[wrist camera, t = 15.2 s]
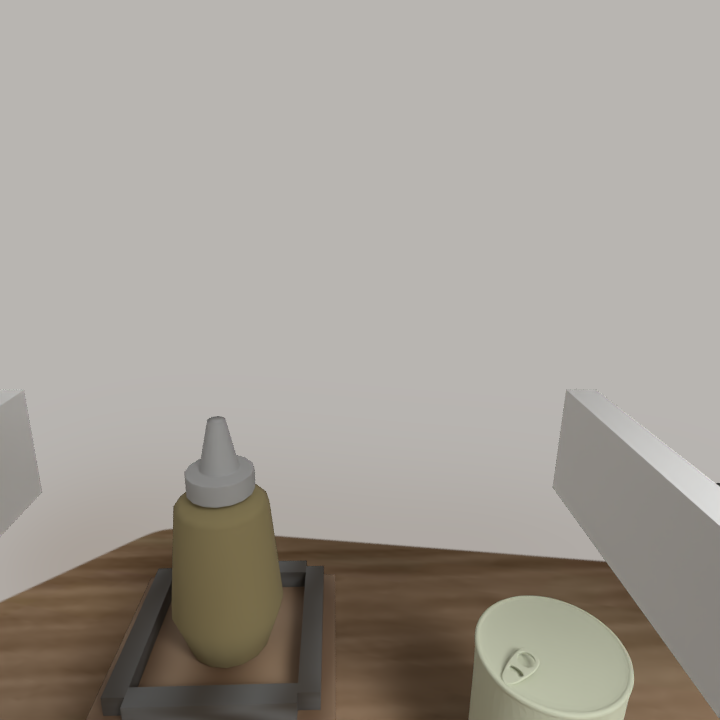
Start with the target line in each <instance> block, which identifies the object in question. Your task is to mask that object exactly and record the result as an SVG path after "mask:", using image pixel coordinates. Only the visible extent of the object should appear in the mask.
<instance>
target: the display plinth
mask: <svg viewBox="0 0 720 720" xmlns="http://www.w3.org/2000/svg"><path fill="white" fill-rule="evenodd" d="M279 568H280V575H281V581H282V588H283V598H282V602H281V605H280V609H279V612H278V615H277V618H276V620H275V623H274V626H273V629H272V631H271V634H270V637H269V640H268V642H267V645H266V646H265V647H264V648H263V650H262V651H261V652H260V653H259V654H258V656H256V657H254V658H253V659H251V660H249V661H248V662H246V663H244V664H242V665H238V666H234V667H230V668H218V667H210V666H208V665H206V664H204V663H202V662H200V661H198V660H197V658H196V657H195V655H194V654H193V653H192V651H191V650H190V648H189V646H188V645H187V643H186V641H185V640H184V638H183V636H182V635H181V633H180V631H179V630H178V628H177V626H176V625H175V623H174V621H173V620H172V568H165V569H158V572H157V574H156V576H155V577H154V578H151V579H150V582H149V584H148V586H147V588H146V590H145V592H144V595H143V597H142V599H141V601H140V603H139V606H138V608H137V610H136V612H135V614H134V616H133V619H132V621H131V623H130V625H129V627H128V629H127V632H126V634H125V636H124V638H123V640H122V642H121V645H120V647H119V649H118V651H117V653H116V655H115V658H114V660H113V662H112V664H111V666H110V669H109V671H108V673H107V675H106V677H105V679H104V682H103V684H102V686H101V688H100V690H99V692H98V695H97V697H96V699H95V701H94V703H93V705H92V708H91V710H90V712H89V714H88V716H87V718H86V720H336V643H335V574H334V575H324V566H307V561H279Z"/></svg>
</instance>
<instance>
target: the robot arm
mask: <svg viewBox="0 0 720 720" xmlns="http://www.w3.org/2000/svg"><path fill="white" fill-rule="evenodd" d="M553 489H554V490H555V491H556V493H557V494H558V496H559V497H560V498H561V499H562V501H563V502H564V504H565V505H566V507H567V508H568V509H569V511H570V512H571V514H572V515H573V516H574V518H575V519H576V520H577V522H578V523H579V524H580V526H581V527H582V529H583V530H584V531H585V533H586V534H587V536H588V537H589V539H590V540H591V541H592V543H593V544H594V545H595V547H596V548H597V549H598V551H599V552H600V554H601V555H602V556H603V558H604V559H605V561H606V562H607V564H608V565H609V566H610V568H611V569H612V570H613V572H614V573H615V575H616V576H617V577H618V579H619V580H620V582H621V583H622V584H623V586H624V587H625V588H626V590H627V591H628V593H629V594H630V595H631V597H632V598H633V600H634V601H635V602H636V604H637V605H638V607H639V608H640V609H641V611H642V612H643V613H644V615H645V616H646V618H647V619H648V620H649V622H650V623H651V625H652V626H653V627H654V629H655V630H656V632H657V633H658V634H659V636H660V637H661V638H662V640H663V641H664V643H665V644H666V645H667V647H668V648H669V650H670V651H671V652H672V654H673V655H674V657H675V658H676V659H677V661H678V662H679V663H680V665H681V666H682V668H683V669H684V670H685V672H686V673H687V675H688V676H689V677H690V679H691V680H692V681H693V683H694V684H695V686H696V687H697V688H698V690H699V691H700V693H701V694H702V695H703V697H704V698H705V700H706V701H707V702H708V704H709V705H710V706H711V708H712V709H713V711H714V712H715V713H716V715H717V716H718V718H720V483H714V482H713V481H712V480H711V479H709V478H708V477H707V476H706V475H704V474H703V473H702V472H700V471H699V470H698V469H696V468H695V467H694V466H693V465H691V464H690V463H689V462H688V461H686V460H685V459H684V458H683V457H681V456H680V455H679V454H678V453H676V452H675V451H674V450H672V449H671V448H670V447H669V446H667V445H666V444H665V443H664V442H662V441H661V440H660V439H658V438H657V437H656V436H655V435H653V434H652V433H651V432H649V431H648V430H647V429H646V428H644V427H643V426H642V425H641V424H639V423H638V422H637V421H636V420H634V419H633V418H632V417H630V416H629V415H628V414H627V413H625V412H624V411H623V410H622V409H620V408H619V407H618V406H617V405H615V404H614V403H613V402H611V401H610V400H609V399H608V398H606V397H605V396H604V395H603V394H601V393H600V392H599V391H597V390H566V396H565V403H564V409H563V417H562V425H561V431H560V438H559V446H558V453H557V460H556V467H555V475H554V482H553ZM41 493H42V489H41V483H40V478H39V472H38V466H37V461H36V455H35V449H34V444H33V439H32V432H31V427H30V421H29V416H28V410H27V405H26V399H25V393H24V390H0V536H1V535H2V534H3V533H4V532H5V531H6V530H7V529H8V528H9V527H10V526H11V525H12V524H13V523H14V522H15V520H16V519H17V518H18V517H19V516H20V515H21V514H22V513H23V512H24V511H25V510H26V509H27V508H28V507H29V505H31V503H32V502H33V501H34V500H35V499H36V498H37V497H38V496H39V495H40V494H41Z"/></svg>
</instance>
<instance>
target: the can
mask: <svg viewBox="0 0 720 720" xmlns="http://www.w3.org/2000/svg"><path fill="white" fill-rule="evenodd" d="M633 684H634V671H633V666H632V662H631V659H630V657H629V655H628V652H627V651H626V649H625V647H624V646H623V644H622V643H621V641H620V640H619V639H618V637H617V636H616V635H615V634H614V633H613V632H612V631H611V630H610V629H609V628H608V627H607V626H606V625H605V624H603V623H602V622H601V621H600V620H598V619H597V618H595V617H594V616H592V615H591V614H589V613H588V612H586V611H584V610H582V609H580V608H578V607H576V606H574V605H571V604H569V603H566V602H563V601H560V600H557V599H553V598H548V597H542V596H516V597H511V598H507V599H504V600H501V601H499V602H497V603H495V604H493V605H492V606H490V607H489V608H488V609H487V610H486V611H485V612H484V613H483V614H482V616H481V617H480V619H479V621H478V623H477V626H476V630H475V654H474V667H473V678H472V689H471V699H470V709H469V719H468V720H624V716H625V711H626V707H627V704H628V700H629V696H630V694H631V692H632V689H633Z"/></svg>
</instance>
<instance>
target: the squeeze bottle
mask: <svg viewBox="0 0 720 720" xmlns="http://www.w3.org/2000/svg"><path fill="white" fill-rule="evenodd" d="M254 471H255V470H254V466H253V463H252V462H251V461H249V460H248V459H246V458H245V457H241V456H238V455H236V453H235V450H234V447H233V443H232V440H231V437H230V433H229V430H228V426H227V423H226V420H225V418H224V417H219V416H217V417H211V418H209V419H208V420H207V425H206V432H205V437H204V443H203V449H202V455H201V459H199V460H197V461H196V462H194V463H192V464H191V465H190V466H189V467H188V468H187V470H186V471H185V484H186V492H185V493H184V494H183V495H182V496H180V498H179V499H178V501H177V502H176V503H175V505H174V511H173V558H172V620H173V621H174V623H175V625H176V626H177V628H178V630H179V631H180V633H181V635H182V636H183V638H184V640H185V641H186V643H187V645H188V646H189V648H190V650H191V651H192V653H193V654H194V655H195V657H196V658H197V660H198V661H200V662H202V663H204V664H206V665H208V666H210V667H218V668H230V667H234V666H238V665H242V664H244V663H246V662H248V661H249V660H251V659H253V658H254V657H256V656H258V654H259V653H260V652H261V651H262V650H263V648H264V647H265V646H266V645H267V642H268V640H269V637H270V634H271V631H272V629H273V626H274V623H275V620H276V618H277V615H278V612H279V609H280V605H281V602H282V598H283V588H282V581H281V575H280V568H279V561H278V555H277V548H276V542H275V535H274V529H273V522H272V516H271V509H270V503H269V499H268V496H267V493H266V491H264V490H263V489H262V488H261V487H259V486H258V485H257V484H255V472H254Z"/></svg>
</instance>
